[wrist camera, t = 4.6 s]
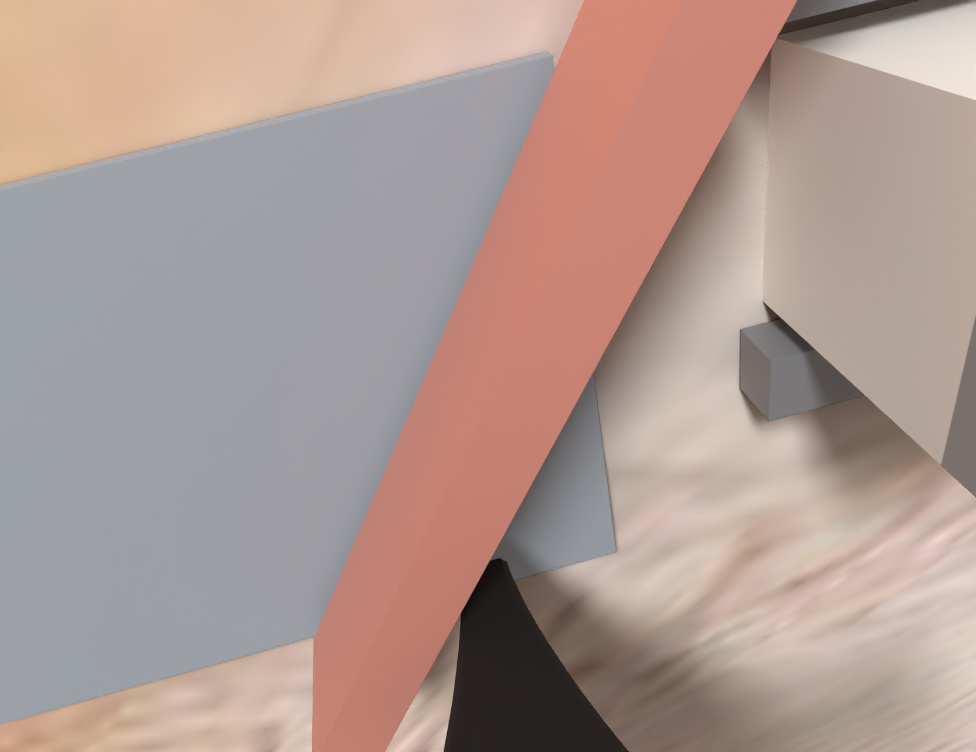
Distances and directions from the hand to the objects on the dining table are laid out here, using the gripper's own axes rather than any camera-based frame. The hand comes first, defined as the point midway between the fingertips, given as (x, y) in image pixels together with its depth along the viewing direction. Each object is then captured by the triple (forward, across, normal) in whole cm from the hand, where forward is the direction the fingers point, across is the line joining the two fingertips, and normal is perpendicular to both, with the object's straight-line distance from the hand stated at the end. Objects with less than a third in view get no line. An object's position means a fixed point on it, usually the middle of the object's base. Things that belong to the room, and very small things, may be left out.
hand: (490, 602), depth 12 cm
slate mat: (+2, +4, -3) cm, 5 cm away
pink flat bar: (+2, -1, -5) cm, 5 cm away
